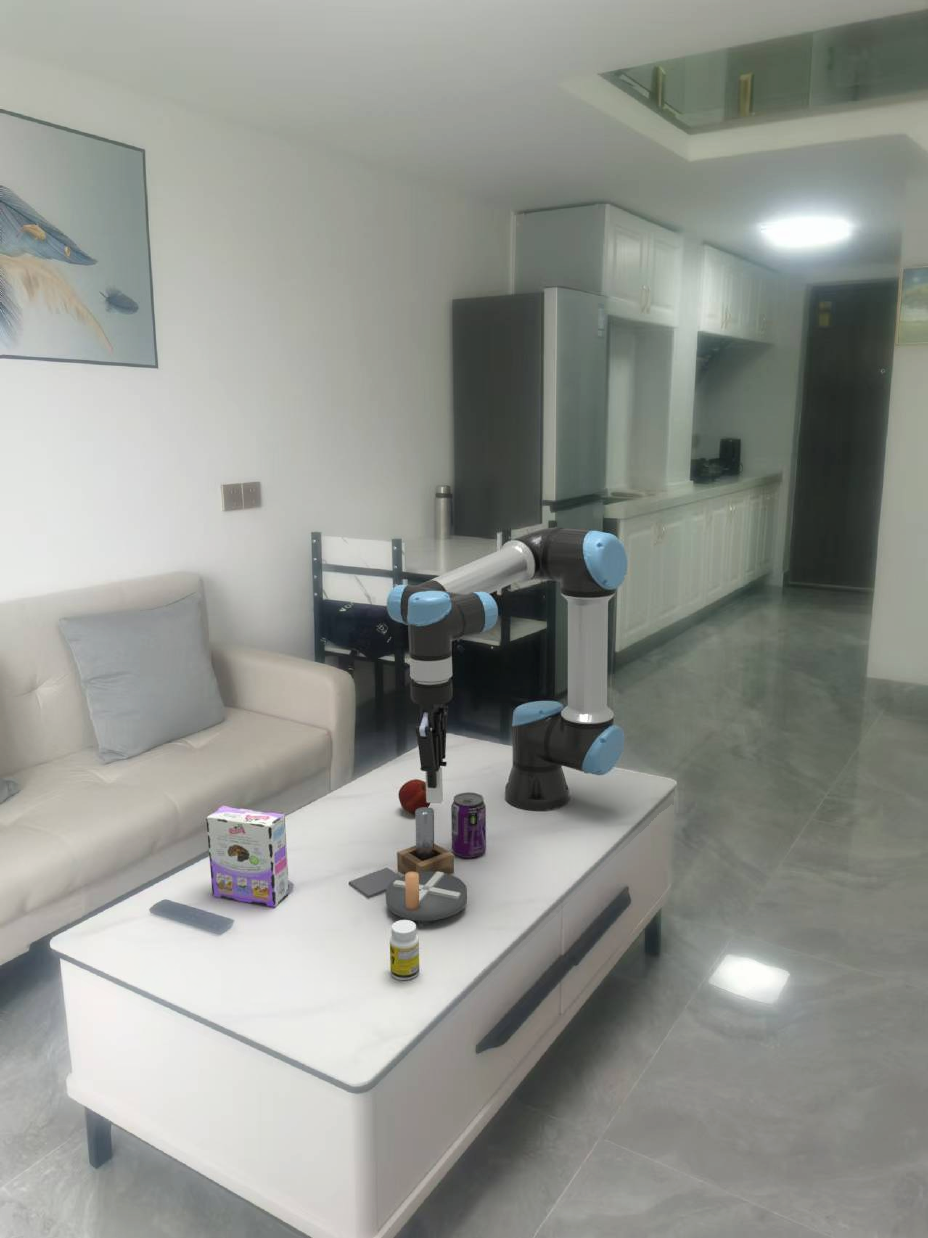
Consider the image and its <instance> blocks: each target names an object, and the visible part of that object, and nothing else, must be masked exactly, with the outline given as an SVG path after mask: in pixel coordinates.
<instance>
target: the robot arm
mask: <svg viewBox="0 0 928 1238" xmlns="http://www.w3.org/2000/svg"><path fill="white" fill-rule="evenodd" d="M625 549H626V548H625V547H624V545H623V543H622V541H620V539H619V537H617V536H616V535H614V534H612V533H608V532H603V531H599V530H594V529H593V530H590V529H578V528H577V529H576V528H575V529H574V528H563V527H548V528H542V529H539V530H535V531H532V532H529V533H526V534H523V535H521V536H518V537H515V538H513V539H511V540H508V541H507V542H505V543H504V544H503V545H502V546H501V548H500V549H499V550H497V551H495V552H492V553H490V554H488V555H484V556H483V557H481V558H479V559H476V560H474V561H472V562H469V563H467V564H465V565H462V566H460V567H457V568H455V569H452V570H450V571H448V572H446V573H443V574H441V575H439V576H437V577H434V578H432V579H429V580H427V581H424V582H423V583H420V584H417V585H412V584H398V585H395V586H394V587H393V588H392V589H391V590H390V592H389V593H388V596H387V598H386V609H387V610H386V611H387V614H388V616H389V617H390V618H391V619H392V620H393V621H395V622H397V623H400V624H401V623H402V624H404V625H405V626H407V631H408V647H409V649H408V650H409V651H408V653H409V658H408V659H407V662H406V663H407V665H409V676H410V678H411V680H410V683H409V686H410V687H409V688H410V689H409V690H410V700H411V701H412V702H413V703H414V704H418V705H419V706H420V710H419V712H418V721H419V725H416V726H415V727H414V731H415V734H416V738H417V746H418V747H417V748H418V754H419V762H420V771H422V772H425V782H426V802H427V803H430V804H439V805H441V804H442V802H443V801H444V797H443V796H444V794H443V791H444V790H443V767H447V765H448V763H447V761H444V760H445V759H446V750H447V749H446V748H447V726H448V723H447V722H448V713H449V706H448V705H444V704H447V703H449V702H451V700H452V699H453V697H454V696H453V695H454V694H453V680H452V679H451V678H452V677H453V660H452V659H453V657H452V652H453V651H452V642H453V641H456V640H460V639H463V638H468V637H470V636H473V635H479V634H482V633H483V632H486V631H489V630H490V629H492V628H493V627H494V626H495V625H496V623H497V621H498V617H499V608H498V604H497V602H496V600H495V598H493V596H492V595H491V594H493V593H494V592H497V591H499V590H501V589H503V588H506V587H507V586H510V585H511V584H514V583H517V584H524V583H527V582H530V581H533V580H543V581H553V582H560V595H561V596H562V597H563V598H564V599H565V600H566V601H567V705H566V706H565V707H564V705H563V704H562V703H561V702H559V701H555V700H536V701H531V702H526V703H523V704H521V705H518V706H517V707H516V708H515V709H514V710H513V713H512V714H513V715H512V724H511V726H512V727H511V729H512V730H511V731H512V736H511V737H512V743H511V744H512V766H511V770H510V773H509V776H508V781H507V782H506V785H505V786H504V799H505V801H506V802H507V803H509V804H510V805H511V806H513V807H515V808H519V809H522V810H528V811H550V810H551V811H552V810H555V809H559V808H561V807H563V806H565V805H566V804H567V803H568V802H569V799H570V790H569V785H568V784H567V780H566V776H565V773H564V769H563V767H565V768H570V769H571V770H572V769H573V770H575V771H579V772H582V773H584V774H586V775H587V774H591V775H595V776H603V775H606V774H608V773H609V772H610V771H612V770H613V769H614V768H615V766H616V765H617V763H618V761H619V760H620V758H621V755H622V752H623V749H624V746H625V733H624V731H623V729H622V728H621V727H620V726H618V725H617V724H615V723H614V717H615V716H614V715H615V714H614V712H613V710H612V709H611V708H610V707H608V646H609V645H608V638H609V637H608V636H609V632H608V630H609V629H608V628H609V627H608V624H609V622H608V621H609V620H608V619H609V611H608V610H609V601H610V600H611V599H612V598H613V597H615V595H616V589H617V588H619V587H620V586H621V585H622V584H623V583H624V581H625V576H626V574H627V570H628V559H627V553H626V550H625Z"/></svg>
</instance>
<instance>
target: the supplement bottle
mask: <svg viewBox="0 0 928 1238" xmlns="http://www.w3.org/2000/svg"><path fill="white" fill-rule="evenodd" d="M390 933H391V935H390V938H389V955H390V957H389V959H390V960H389V963H390V974H391V976H392V977H393V978H394V979H396V980H399V981H407V980H408V981H409V980H411V979H414V978H416V977H418V975H419V974H420V942H419V940H420V938H419V935H418V934H417V925H416V922H414V921H413V920H411V919H400V920H397V921H395V922H393V923H392V924H391V931H390Z"/></svg>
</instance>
